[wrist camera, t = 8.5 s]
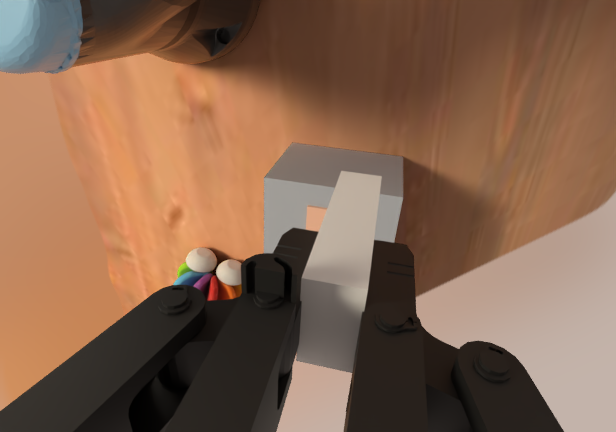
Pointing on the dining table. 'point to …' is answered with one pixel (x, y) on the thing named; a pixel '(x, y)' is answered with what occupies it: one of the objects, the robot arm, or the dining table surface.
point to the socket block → (325, 189)
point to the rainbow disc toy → (201, 277)
